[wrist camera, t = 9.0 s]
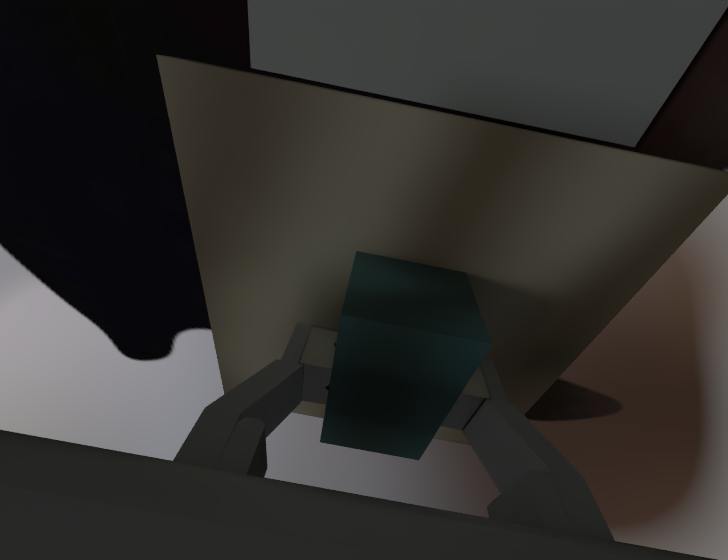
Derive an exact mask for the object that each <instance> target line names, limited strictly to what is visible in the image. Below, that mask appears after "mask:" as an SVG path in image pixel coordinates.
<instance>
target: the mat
mask: <svg viewBox="0 0 728 560" xmlns="http://www.w3.org/2000/svg"><path fill="white" fill-rule="evenodd" d="M727 7H728V0H248V16H249V36H250V57H251V68H255V69H260V70H265V71H269V72H274V73H279V74H284V75H289V76H294V77H298V78H303V79H308V80H313V81H318V82H322V83H327V84H332V85H337V86H342V87H347V88H351V89H356V90H361V91H366V92H371V93H376V94H380V95H385V96H390V97H395V98H400V99H404V100H409V101H414V102H419V103H424V104H429V105H433V106H438V107H443V108H448V109H453V110H458V111H462V112H467V113H472V114H477V115H482V116H486V117H491V118H496V119H501V120H506V121H511V122H515V123H520V124H525V125H530V126H535V127H540V128H544V129H549V130H554V131H559V132H564V133H568V134H573V135H578V136H583V137H588V138H593V139H597V140H602V141H607V142H612V143H617V144H622V145H626V146H631V147H635V145H636V144H637V142H638V141H639V139H640V138H641V136H642V135H643V133H644V132H645V130H646V129H647V127H648V126H649V124H650V123H651V121H652V120H653V118H654V117H655V115H656V114H657V112H658V111H659V109H660V108H661V106H662V105H663V103H664V102H665V100H666V99H667V97H668V96H669V94H670V93H671V91H672V90H673V88H674V87H675V85H676V84H677V82H678V81H679V79H680V78H681V76H682V75H683V73H684V72H685V70H686V69H687V67H688V66H689V64H690V63H691V61H692V60H693V58H694V57H695V55H696V54H697V52H698V51H699V49H700V48H701V46H702V45H703V43H704V42H705V40H706V39H707V37H708V36H709V34H710V33H711V31H712V30H713V28H714V27H715V25H716V24H717V22H718V21H719V19H720V18H721V16H722V15H723V13H724V12H725V10H726V9H727Z"/></svg>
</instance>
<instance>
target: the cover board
mask: <svg viewBox="0 0 728 560" xmlns="http://www.w3.org/2000/svg"><path fill="white" fill-rule="evenodd" d="M157 60H158V65H159V70H160V75H161V80H162V85H163V90H164V95H165V100H166V105H167V110H168V115H169V120H170V125H171V130H172V135H173V140H174V145H175V150H176V155H177V160H178V165H179V170H180V175H181V180H182V185H183V190H184V195H185V200H186V205H187V209H188V214H189V219H190V224H191V229H192V234H193V239H194V244H195V249H196V254H197V259H198V264H199V269H200V274H201V279H202V284H203V289H204V294H205V299H206V304H207V309H208V314H209V319H210V324H211V329H212V334H213V339H214V344H215V349H216V354H217V359H218V364H219V369H220V374H221V379H222V384H223V389H224V394H226V393H227V392H229V391H230V390H232V389H233V388H235V387H236V386H238V385H239V384H241V383H242V382H243V381H245V380H246V379H248V378H249V377H251V376H252V375H254V374H255V373H257V372H258V371H260V370H261V369H263V368H264V367H265V366H267V365H268V364H270V363H271V362H273V361H274V360H276V359H278V360H281V358H282V356H283V353H284V351H285V349H286V346H287V344H288V342H289V339H290V337H291V335H292V332H293V330H294V328H295V325H296V324H297V323H298V321H299V322H303V323H308V324H314V325H319V326H323V327H328V328H332V329H337V330H338V335H337V341H336V347H335V354H334V360H333V366H332V372H331V378H330V384H329V390H328V396H327V402H326V405H325V404H319V403H313V402H306V401H301V403H300V404H299V405H298V406H297V407H296V408H295V409H294V410H293V411H292V412H293V413H298V414H304V415H309V416H314V417H320V418H324V421H323V427H322V433H321V440H320V442H322V443H327V444H333V445H338V446H344V447H349V448H355V449H361V450H366V451H372V452H377V453H382V454H388V455H394V456H399V457H404V458H410V459H415V460H419V459H420V458H421V456H422V454H423V453H424V451H425V450H426V448H427V446H428V445H429V443H430V442H431V440H432V439H433V438H434V439H439V440H445V441H451V442H456V443H461V444H467V445H470V444H469V442H468V441H467V439H466V437H465V436H464V434H463V433H462V432H463V431H461V430H457V429H452V428H447V427H443V426H441V424H442V423H443V421H444V420H445V418H446V417H447V415H448V413H449V412H450V410H451V409H452V407H453V406H454V404H455V402H456V401H457V399H458V398H459V396H460V394H461V393H462V391H463V390H464V388H465V387H466V385H467V383H468V382H469V380H470V379H471V377H472V376H473V374H474V372H475V371H476V369H477V368H478V366H479V364H480V363H481V361H482V360H483V358H484V357H486V358H491V359H492V360H493V362H494V365H495V368H496V370H497V373H498V376H499V379H500V381H501V384H502V387H503V390H504V392H505V395H506V398H507V400H508V403H511V404H514V405H515V407H516V408H517V409H518V410H519V411H520V412H521V413H522V414H523V415H524V414H525V413H526V412H527V411H528V410H529V409H530V408H531V407H532V406H533V404H534V403H535V402H536V401H537V400H538V399H539V398H540V397H541V396H542V395H543V394H544V393H545V391H546V390H547V389H548V388H549V387H550V386H551V385H552V384H553V383H554V382H555V381H556V380H557V378H558V377H559V376H560V375H561V374H562V373H563V372H564V371H565V370H566V369H567V367H569V366H570V364H571V363H572V362H573V361H574V360H575V359H576V358H577V357H578V356H579V355H580V353H582V351H583V350H584V349H585V348H586V347H587V346H588V345H589V344H590V343H591V341H593V340H594V338H595V337H596V336H597V335H598V334H599V333H600V332H601V331H602V330H603V329H604V328H605V327H606V325H607V324H608V323H609V322H610V321H611V320H612V319H613V318H614V317H615V316H616V315H617V314H618V312H619V311H620V310H621V309H622V308H623V307H624V306H625V305H626V304H627V303H628V302H629V300H630V299H631V298H632V297H633V296H634V295H635V294H636V293H637V292H638V291H639V290H640V289H641V288H642V286H643V285H644V284H645V283H646V282H647V281H648V280H649V279H650V278H651V277H652V276H653V275H654V274H655V272H656V271H657V270H658V269H659V268H660V267H661V266H662V265H663V264H664V263H665V262H666V261H667V259H668V258H669V257H670V256H671V255H672V254H673V253H674V252H675V251H676V250H677V248H678V247H679V246H680V245H681V244H682V243H683V242H684V241H685V240H686V239H687V238H688V237H689V236H690V235H691V233H692V232H693V231H694V230H695V229H696V228H697V227H698V226H699V225H700V224H701V223H702V222H703V220H704V219H705V218H706V217H707V216H708V215H709V214H710V213H711V212H712V211H713V210H714V208H715V207H716V206H717V205H718V204H719V203H720V202H721V201H722V200H723V199H724V198H725V197H726V196H727V194H728V172H726V171H722V170H718V169H714V168H709V167H704V166H699V165H695V164H690V163H685V162H680V161H675V160H670V159H666V158H661V157H656V156H651V155H646V154H641V153H637V152H632V151H627V150H622V149H617V148H612V147H608V146H603V145H598V144H593V143H588V142H583V141H579V140H574V139H569V138H564V137H559V136H554V135H550V134H545V133H540V132H535V131H530V130H525V129H521V128H516V127H511V126H506V125H501V124H496V123H492V122H487V121H482V120H477V119H472V118H467V117H463V116H458V115H453V114H448V113H443V112H438V111H434V110H429V109H424V108H419V107H414V106H409V105H405V104H400V103H395V102H390V101H385V100H380V99H376V98H371V97H366V96H361V95H356V94H351V93H347V92H342V91H337V90H332V89H327V88H322V87H318V86H313V85H308V84H303V83H298V82H293V81H289V80H284V79H279V78H274V77H269V76H264V75H260V74H255V73H250V72H245V71H240V70H235V69H231V68H226V67H221V66H216V65H211V64H206V63H202V62H197V61H192V60H187V59H182V58H177V57H170V56H163V55H157Z"/></svg>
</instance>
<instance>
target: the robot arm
mask: <svg viewBox="0 0 728 560" xmlns="http://www.w3.org/2000/svg"><path fill="white" fill-rule="evenodd" d="M337 335H338V330H337V329H332V328H328V327H323V326H319V325H314V324H308V323H303V322H299V321H298V323H297V324H296V325H295V328H294V330H293V332H292V335H291V337H290V339H289V342H288V344H287V346H286V349H285V351H284V353H283V356H282V358H281V360H278V359H276V360H274V361H273V362H271V363H270V364H268V365H267V366H265V367H264V368H263V369H261V370H260V371H258V372H257V373H255V374H254V375H252V376H251V377H249V378H248V379H246V380H245V381H243V382H242V383H241V384H239V385H238V386H236V387H235V388H233V389H232V390H230V391H229V392H227V393H226V394H224V395H223V396H222V397H220V398H219V399H217V400H216V401H214V402H213V403H211V404H210V405H208V406H207V407H206V408H205V409H204V410H203V412H202V414H201V415H200V417H199V419H198V420H197V422H196V423H195V425H194V427H193V428H192V430H191V432H190V433H189V435H188V437H187V438H186V440H185V442H184V443H183V445H182V447H181V448H180V450H179V452H178V453H177V455H176V457H175V458H174V460H173V461H170V460H164V459H158V458H153V457H148V456H142V455H136V454H131V453H125V452H120V451H113V450H108V449H103V448H98V447H92V446H87V445H81V444H76V443H70V442H65V441H59V440H53V439H48V438H42V437H37V436H31V435H26V434H20V433H14V432H9V431H3V430H0V560H716V559H711V558H705V557H700V556H694V555H689V554H682V553H677V552H671V551H667V550H660V549H656V548H650V547H645V546H639V545H633V544H628V543H622V542H617V541H615V540H614V538H613V536H612V534H611V532H610V530H609V528H608V526H607V524H606V522H605V520H604V517H603V516H602V513H601V511H600V509H599V507H598V505H597V503H596V501H595V499H594V497H593V495H592V493H591V491H590V488H589V486H588V484H587V482H586V480H585V478H584V477H582V475H581V474H580V473H579V472H578V471H577V470H576V469H575V468H574V467H573V466H572V465H571V464H570V463H569V462H568V461H567V460H566V459H565V457H564V456H563V455H561V453H560V452H558V450H557V449H556V448H555V447H554V446H553V445H552V444H551V443H550V442H549V441H548V440H547V439H546V438H545V437H544V436H543V435H542V434H541V433H540V431H538V429H537V428H536V427H535V426H534V425H533V424H532V423H531V422H530V421H529V420H528V419H527V418H526V417H525V416H524V415H523V414H522V413H521V412H520V411H519V410H518V409H517V408H516V407H515V405H514V404H511V403H508V400H507V398H506V395H505V392H504V390H503V387H502V384H501V381H500V379H499V376H498V373H497V370H496V368H495V365H494V362H493V360H492V359H491V358H486V357H484V358H483V360H482V361H481V363H480V364H479V366H478V368H477V369H476V371H475V372H474V374H473V376H472V377H471V379H470V380H469V382H468V383H467V385H466V387H465V388H464V390H463V391H462V393H461V394H460V396H459V398H458V399H457V401H456V402H455V404H454V406H453V407H452V409H451V410H450V412H449V413H448V415H447V417H446V418H445V420H444V421H443V423H442V424H441V426H443V427H447V428H452V429H457V430H461V431H463V432H462V433H463V434H464V436H465V437H466V439H467V441H468V442H469V444H470V445H471V447H472V449H473V450H474V452H475V453H476V455H477V456H478V458H479V460H480V461H481V463H482V464H483V466H484V467H485V469H486V471H487V472H488V474H489V476H490V477H491V479H492V480H493V482H494V483H495V485H496V487H497V488H498V490H499V491H500V493H501V494H500V495H499V496H498V497H497V498H496V499H494V500H493V501H492V502H491V503H490V504H489V505H488V506H487V510H488V514H489V518H485V517H479V516H474V515H468V514H463V513H457V512H451V511H446V510H440V509H435V508H429V507H424V506H418V505H413V504H407V503H402V502H396V501H390V500H385V499H380V498H374V497H368V496H363V495H358V494H352V493H347V492H341V491H336V490H330V489H324V488H319V487H314V486H308V485H302V484H297V483H291V482H286V481H280V480H275V479H268V478H264V476H265V473H266V470H267V454H266V437H267V436H268V435H269V434H270V433H271V432H272V431H273V430H274V429H275V428H276V427H277V426H278V425H279V424H280V423H281V422H282V421H283V420H284V419H285V418H286V417H287V416H288V415H289V414H290V413H291V412H292V411H293V410H294V409H295V408H296V407H297V406H298V405H299V404H300V403H301V401H306V402H313V403H319V404H325V405H326V402H327V396H328V390H329V384H330V378H331V372H332V366H333V360H334V354H335V347H336V341H337Z"/></svg>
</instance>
